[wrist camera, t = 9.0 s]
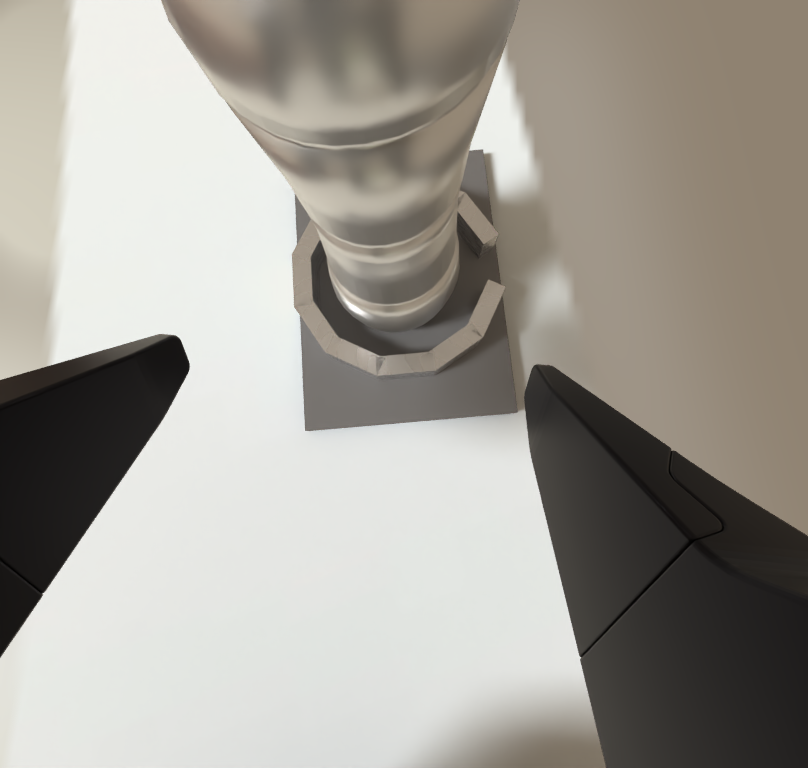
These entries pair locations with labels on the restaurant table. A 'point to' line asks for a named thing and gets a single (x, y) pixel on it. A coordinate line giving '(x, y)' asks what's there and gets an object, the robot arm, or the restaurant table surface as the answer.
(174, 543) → the restaurant table surface
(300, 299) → the split ring
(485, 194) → the ring mat
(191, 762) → the restaurant table surface
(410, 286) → the plastic bottle
